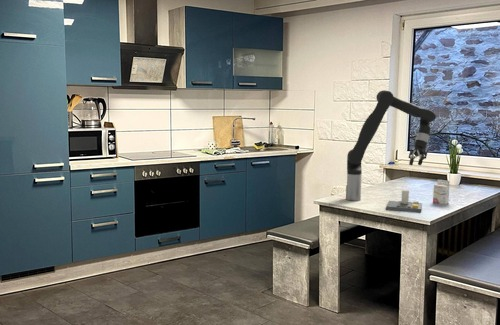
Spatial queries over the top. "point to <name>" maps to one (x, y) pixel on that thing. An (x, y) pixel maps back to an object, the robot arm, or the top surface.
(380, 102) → the robot arm
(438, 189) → the ink cartridge box
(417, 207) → the switch panel
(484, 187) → the top surface
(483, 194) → the top surface
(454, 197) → the top surface
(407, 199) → the switch tab
